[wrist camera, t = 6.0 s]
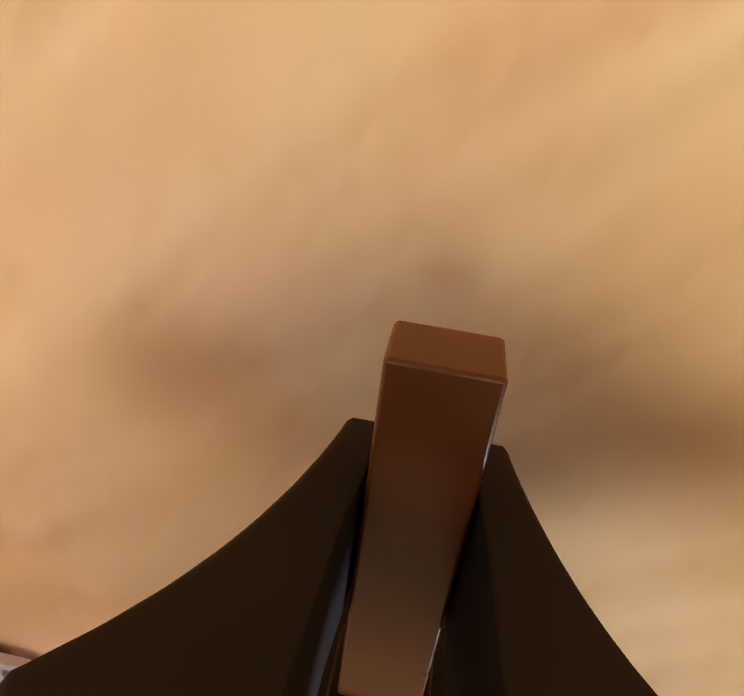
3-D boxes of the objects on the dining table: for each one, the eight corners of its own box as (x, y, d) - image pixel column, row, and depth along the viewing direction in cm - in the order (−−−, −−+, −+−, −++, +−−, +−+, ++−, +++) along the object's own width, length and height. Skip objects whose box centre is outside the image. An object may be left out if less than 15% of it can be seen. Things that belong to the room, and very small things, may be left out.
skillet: (522, 839, 20) (530, 1008, 17) (191, 757, 21) (135, 899, 18) (801, 319, 10) (968, 472, 7) (145, 212, 11) (-7, 295, 8)
